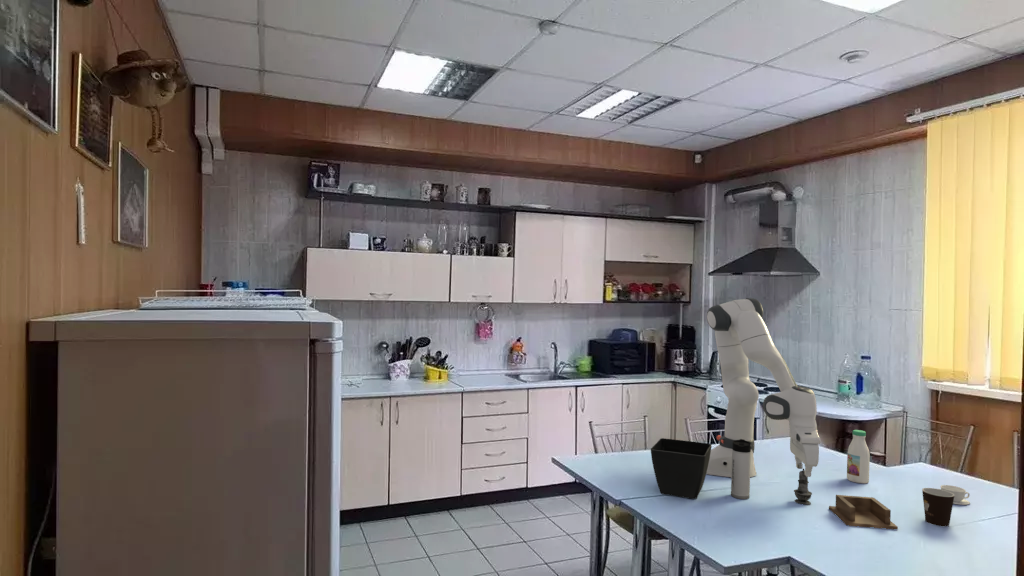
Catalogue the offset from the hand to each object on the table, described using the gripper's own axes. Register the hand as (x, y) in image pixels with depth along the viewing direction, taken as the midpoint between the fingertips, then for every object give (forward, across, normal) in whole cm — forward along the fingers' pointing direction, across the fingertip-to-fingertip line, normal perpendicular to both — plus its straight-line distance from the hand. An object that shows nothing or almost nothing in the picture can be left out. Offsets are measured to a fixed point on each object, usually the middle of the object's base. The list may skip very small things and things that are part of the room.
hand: (803, 472), depth 212 cm
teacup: (+14, -17, +56) cm, 60 cm away
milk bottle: (+12, -33, +30) cm, 46 cm away
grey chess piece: (+11, 0, 0) cm, 11 cm away
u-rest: (+11, +12, +14) cm, 22 cm away
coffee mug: (+12, +8, +39) cm, 42 cm away
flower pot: (+9, 0, -42) cm, 43 cm away
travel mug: (+10, -1, -21) cm, 24 cm away
